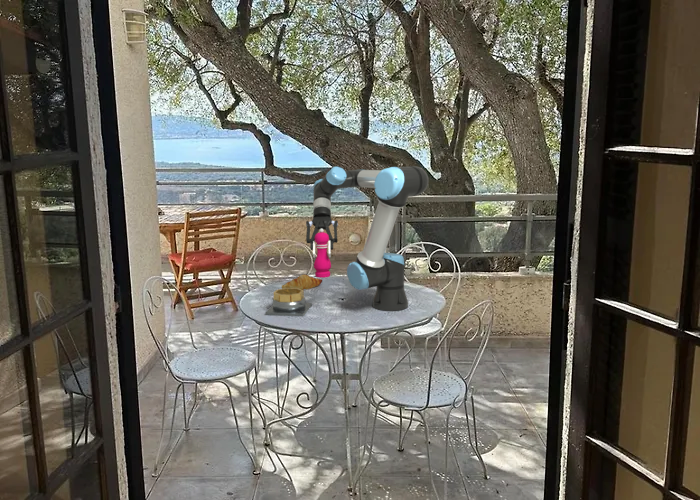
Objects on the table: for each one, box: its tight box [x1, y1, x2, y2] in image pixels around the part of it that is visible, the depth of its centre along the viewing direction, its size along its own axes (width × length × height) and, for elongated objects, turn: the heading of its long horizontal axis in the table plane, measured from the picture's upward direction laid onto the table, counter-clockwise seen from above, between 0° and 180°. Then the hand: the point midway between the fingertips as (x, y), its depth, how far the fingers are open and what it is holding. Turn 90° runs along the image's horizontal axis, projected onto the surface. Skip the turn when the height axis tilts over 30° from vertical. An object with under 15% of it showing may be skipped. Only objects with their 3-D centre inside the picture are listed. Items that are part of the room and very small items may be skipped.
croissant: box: [281, 274, 323, 291], centre depth 299 cm, size 21×10×8 cm, turn 118°
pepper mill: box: [313, 229, 332, 279], centre depth 255 cm, size 7×7×20 cm
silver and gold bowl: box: [265, 288, 313, 317], centre depth 262 cm, size 16×16×8 cm
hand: (321, 255), depth 252 cm, fingers closed on pepper mill, 6 cm apart
